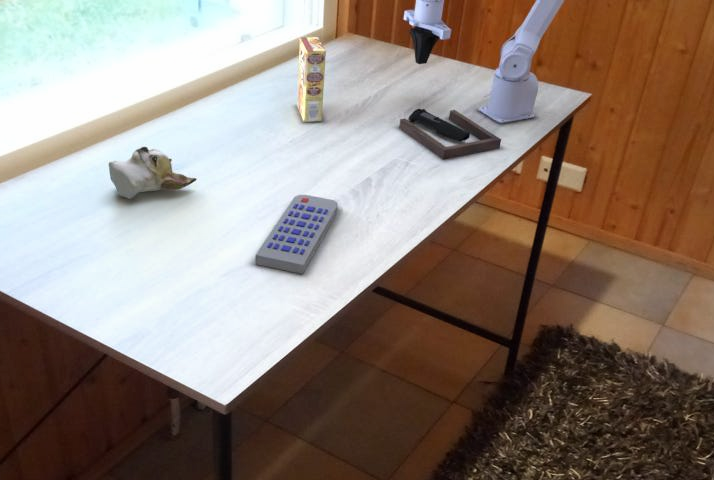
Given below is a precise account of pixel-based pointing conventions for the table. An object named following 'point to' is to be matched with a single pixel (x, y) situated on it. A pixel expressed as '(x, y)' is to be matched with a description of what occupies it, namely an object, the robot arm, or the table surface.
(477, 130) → the dock
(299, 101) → the candy box
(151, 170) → the ceramic sculpture
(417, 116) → the electric trimmer
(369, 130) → the table surface
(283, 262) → the remote control
